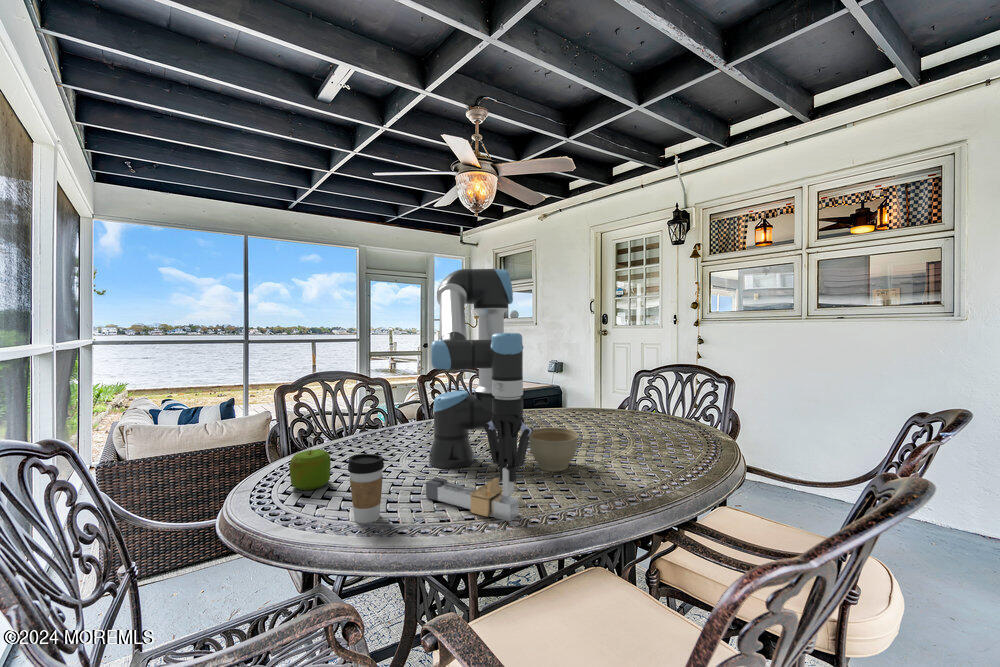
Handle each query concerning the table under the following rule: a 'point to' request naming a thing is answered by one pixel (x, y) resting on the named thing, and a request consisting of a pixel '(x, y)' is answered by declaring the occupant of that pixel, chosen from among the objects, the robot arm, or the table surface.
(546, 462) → the planter bowl
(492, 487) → the collar
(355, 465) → the coffee cup
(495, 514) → the tongs fixed
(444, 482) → the bar
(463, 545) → the table surface
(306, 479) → the apple
